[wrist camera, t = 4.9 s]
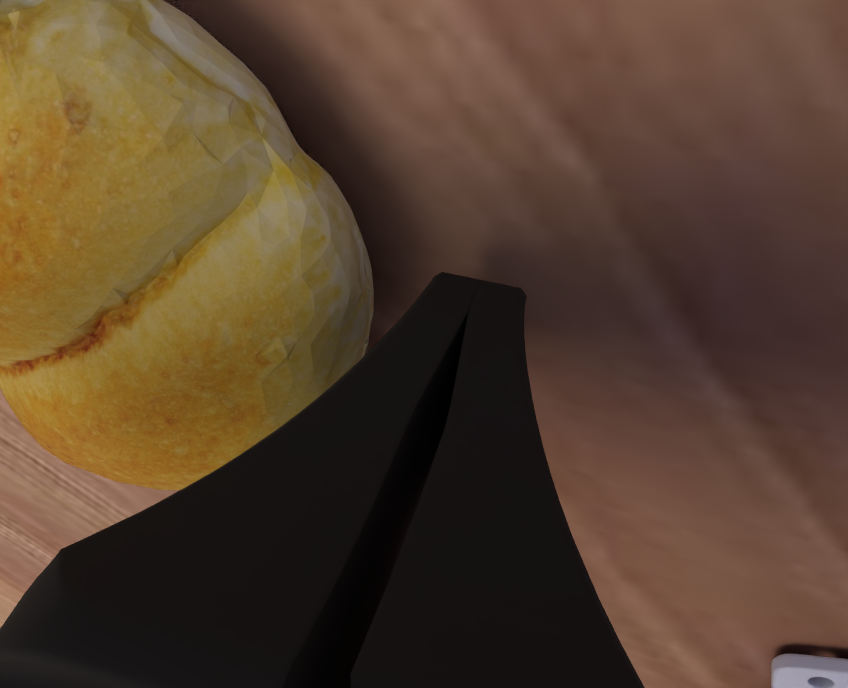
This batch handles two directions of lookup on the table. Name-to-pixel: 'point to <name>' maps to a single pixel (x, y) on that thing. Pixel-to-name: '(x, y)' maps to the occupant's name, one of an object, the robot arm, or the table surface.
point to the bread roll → (161, 245)
